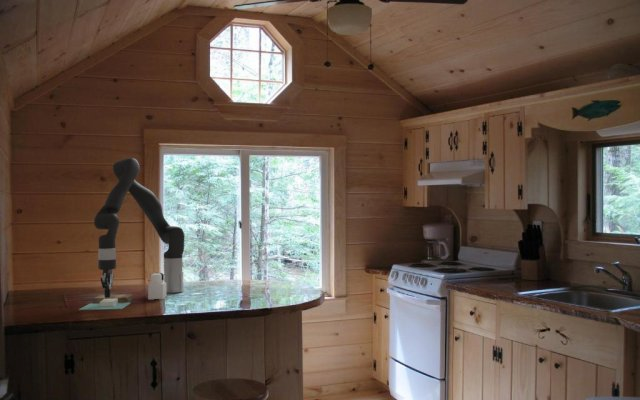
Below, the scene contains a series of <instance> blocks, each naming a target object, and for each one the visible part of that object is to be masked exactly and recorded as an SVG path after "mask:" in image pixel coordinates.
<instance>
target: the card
mask: <svg viewBox="0 0 640 400" xmlns="http://www.w3.org/2000/svg"><path fill="white" fill-rule="evenodd" d="M117 303H118V298H114V299H103V300H102V301H100V306H115V305H116V304H117Z"/></svg>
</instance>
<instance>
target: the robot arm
mask: <svg viewBox="0 0 640 400" xmlns="http://www.w3.org/2000/svg"><path fill="white" fill-rule="evenodd" d="M140 169H141V167H140V164H139V161H138V160H137V159H136V158H133V157H128V158H124V159H121V160H118V161H116V162H114V164H113V166H112V171H113V174H114V175H115V177H116V178H117V180H118V182H117V183H116V184H115V186H114V187H113V188H112V189H111V190H110V192H109V193H108V195H107V198H106V200H105V202H104V205H102V207H101V208H100V209H99V210H98V212H97V214H95V217H94V219H93V220H94V221H93V224H94V227H95V228H96V229H98V230H107V232H106V234H103V235H100V236H99V237H98V253H97V262H98V271H99V270H101V271H102V273H101V277H100V283H101V285H102V286H101V287H102V289H104V295H105V298H109V297H110V296H111V295H112V293H111V289H112V287H113V283H114V277H115V275H114V273H113V270H115V269H116V268H117V251H116V250H117V249H116V237H117V232H118V229H119V227H120V226H119V225H120V218H119V216H118V215H117V214H119V212H120V211H121V208H122V206H123V203H124V200H125V198H126V195H127V193H128V192H129V193H130V195H131V197H132V198H133V199H134V200H135V202H136V204H137V205H138V207H139V208H140V209H141V210H142V212H143V213H144V215H145V216H146V218H147V219H148V220H149V222H150V223H151V224H152V226H153V227H154V229H155V231H156V234H157V235H158V236H159V239H160V240H161V241H162V243H164V244H165V245H168V249H167V250H166V251H165V252H164V253H163V274H164V282H166V294H169V293H170V294H172V293H174V294H175V293H182V292H184V291H185V290H184V271H183V254H184V251H185V232H184V230H183V228H182V227H180V226H177V225H176V226H175V225H174V226H173V225H171V224H169V223H168V221H167V220H166V217H164V214H163V208H162V204H161V202H160V200H159V199H158V197H157V195H155V193H154V192H153V191H152V190H150V189H148V188H147V187H145V186H143V185H142V184H141V183H139V182H137V181H136V178H137V177H138V175H139V173H140Z"/></svg>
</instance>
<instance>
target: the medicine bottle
mask: <svg viewBox="0 0 640 400" xmlns="http://www.w3.org/2000/svg"><path fill="white" fill-rule="evenodd" d="M165 298H168V297H167V293H166V282H164V273H163V272H154V273H153V272H152V273H151V274H150V283H148V284H147V300H151V301H152V300H154V299H159V300H164V299H165Z"/></svg>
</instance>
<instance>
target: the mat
mask: <svg viewBox="0 0 640 400" xmlns="http://www.w3.org/2000/svg"><path fill="white" fill-rule="evenodd" d="M131 303H132V301H130V302H128V303H117V304H116V305H115V306H100V303H94V302H93V303H92V302H91V303H88V304H87V305H85V306H82V307H81V308H79V309H78V311H96V310H97V311H100V310H123V309H124V308H126V307H127V306H129V305H130V304H131Z"/></svg>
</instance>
